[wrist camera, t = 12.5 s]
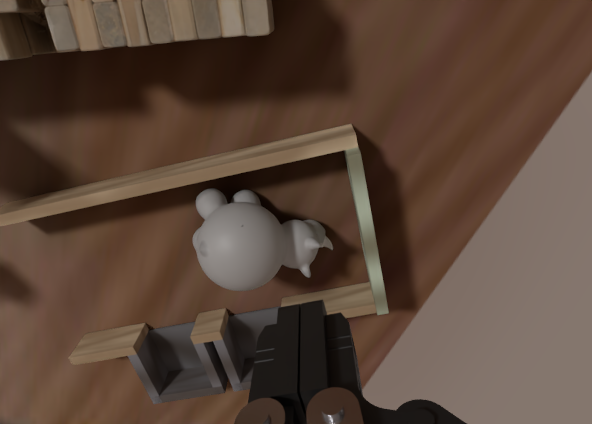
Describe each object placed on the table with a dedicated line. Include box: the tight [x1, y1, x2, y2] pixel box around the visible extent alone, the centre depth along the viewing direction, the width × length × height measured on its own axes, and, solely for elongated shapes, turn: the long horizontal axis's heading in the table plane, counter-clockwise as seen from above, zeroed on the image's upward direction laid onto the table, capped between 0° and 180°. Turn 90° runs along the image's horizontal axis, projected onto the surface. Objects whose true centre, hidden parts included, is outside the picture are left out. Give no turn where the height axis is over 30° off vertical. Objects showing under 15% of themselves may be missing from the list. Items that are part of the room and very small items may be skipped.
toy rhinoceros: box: [193, 188, 333, 291], centre depth 34 cm, size 7×12×8 cm, turn 76°
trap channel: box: [0, 124, 389, 404], centre depth 38 cm, size 24×32×5 cm
